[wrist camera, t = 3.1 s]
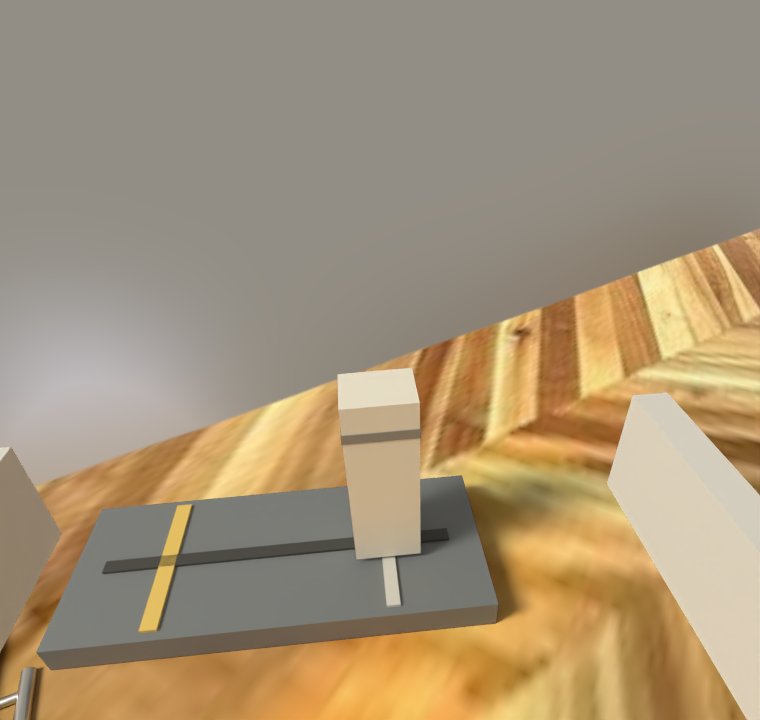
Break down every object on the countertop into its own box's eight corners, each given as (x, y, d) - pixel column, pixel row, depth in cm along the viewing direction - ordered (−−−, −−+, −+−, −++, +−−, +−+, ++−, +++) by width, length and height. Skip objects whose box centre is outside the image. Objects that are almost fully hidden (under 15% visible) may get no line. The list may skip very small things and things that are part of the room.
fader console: (460, 494, 39) (462, 473, 38) (495, 623, 31) (498, 602, 30) (111, 527, 38) (101, 507, 37) (51, 670, 30) (34, 650, 29)
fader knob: (414, 513, 35) (412, 367, 28) (421, 553, 32) (420, 403, 25) (353, 519, 35) (336, 373, 28) (355, 560, 32) (337, 410, 25)
